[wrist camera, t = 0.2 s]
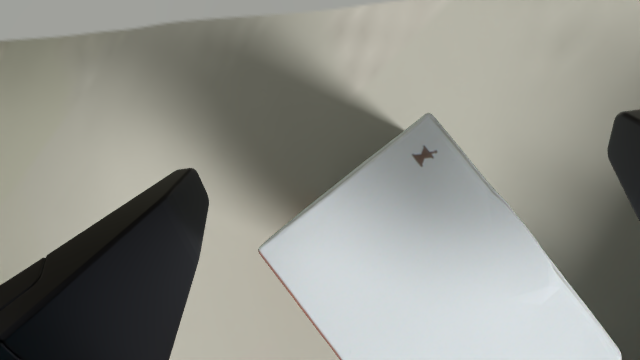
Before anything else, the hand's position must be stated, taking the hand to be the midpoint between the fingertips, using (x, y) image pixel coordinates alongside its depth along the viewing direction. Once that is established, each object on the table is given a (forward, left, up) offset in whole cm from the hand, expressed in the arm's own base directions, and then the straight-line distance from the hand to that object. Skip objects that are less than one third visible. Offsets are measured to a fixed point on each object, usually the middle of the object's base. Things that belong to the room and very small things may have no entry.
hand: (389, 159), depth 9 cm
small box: (-4, +1, -15) cm, 16 cm away
